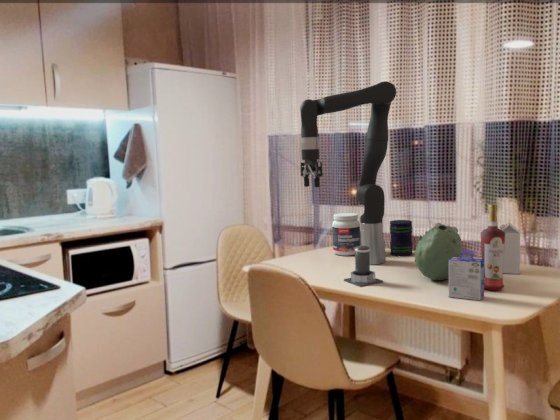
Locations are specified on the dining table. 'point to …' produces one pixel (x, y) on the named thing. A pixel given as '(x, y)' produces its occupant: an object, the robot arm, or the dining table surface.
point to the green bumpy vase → (437, 251)
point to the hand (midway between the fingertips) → (311, 186)
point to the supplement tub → (345, 233)
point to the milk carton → (511, 249)
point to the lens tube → (362, 260)
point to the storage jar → (401, 238)
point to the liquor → (493, 252)
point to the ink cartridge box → (466, 277)
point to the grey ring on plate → (363, 279)
